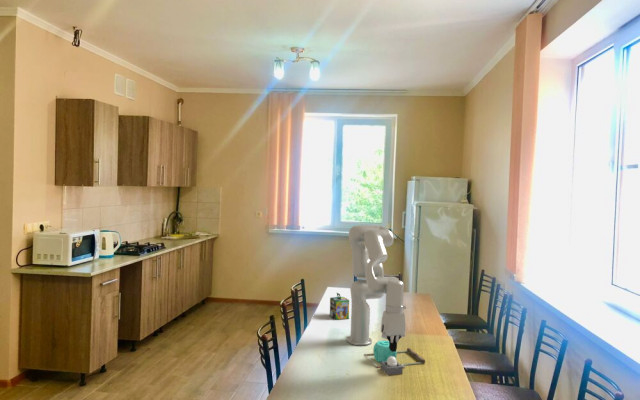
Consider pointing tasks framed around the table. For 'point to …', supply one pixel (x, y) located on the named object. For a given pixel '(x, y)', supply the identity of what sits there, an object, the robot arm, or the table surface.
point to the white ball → (391, 361)
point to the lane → (415, 355)
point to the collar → (391, 368)
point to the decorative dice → (382, 351)
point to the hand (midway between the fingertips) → (392, 350)
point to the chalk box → (339, 307)
